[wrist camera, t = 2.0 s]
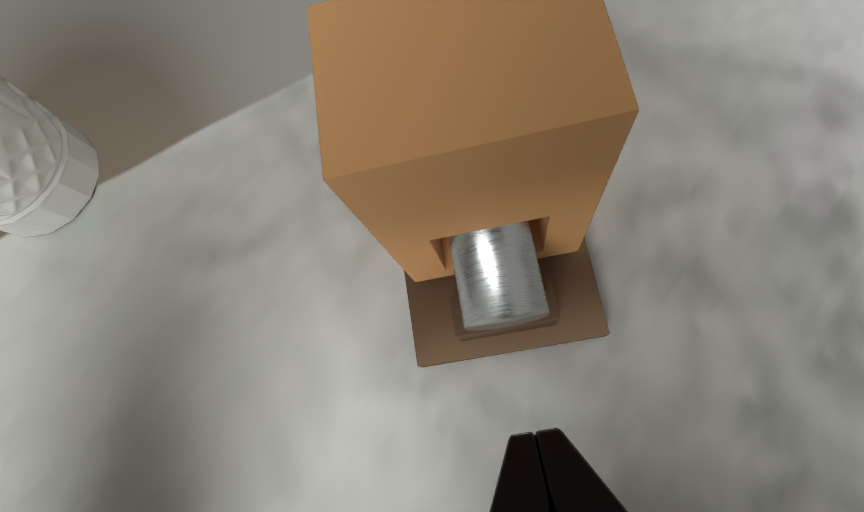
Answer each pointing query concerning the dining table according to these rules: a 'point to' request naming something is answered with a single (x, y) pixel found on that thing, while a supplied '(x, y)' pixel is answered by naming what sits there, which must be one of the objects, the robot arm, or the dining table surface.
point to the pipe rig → (503, 299)
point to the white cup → (41, 166)
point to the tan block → (468, 118)
